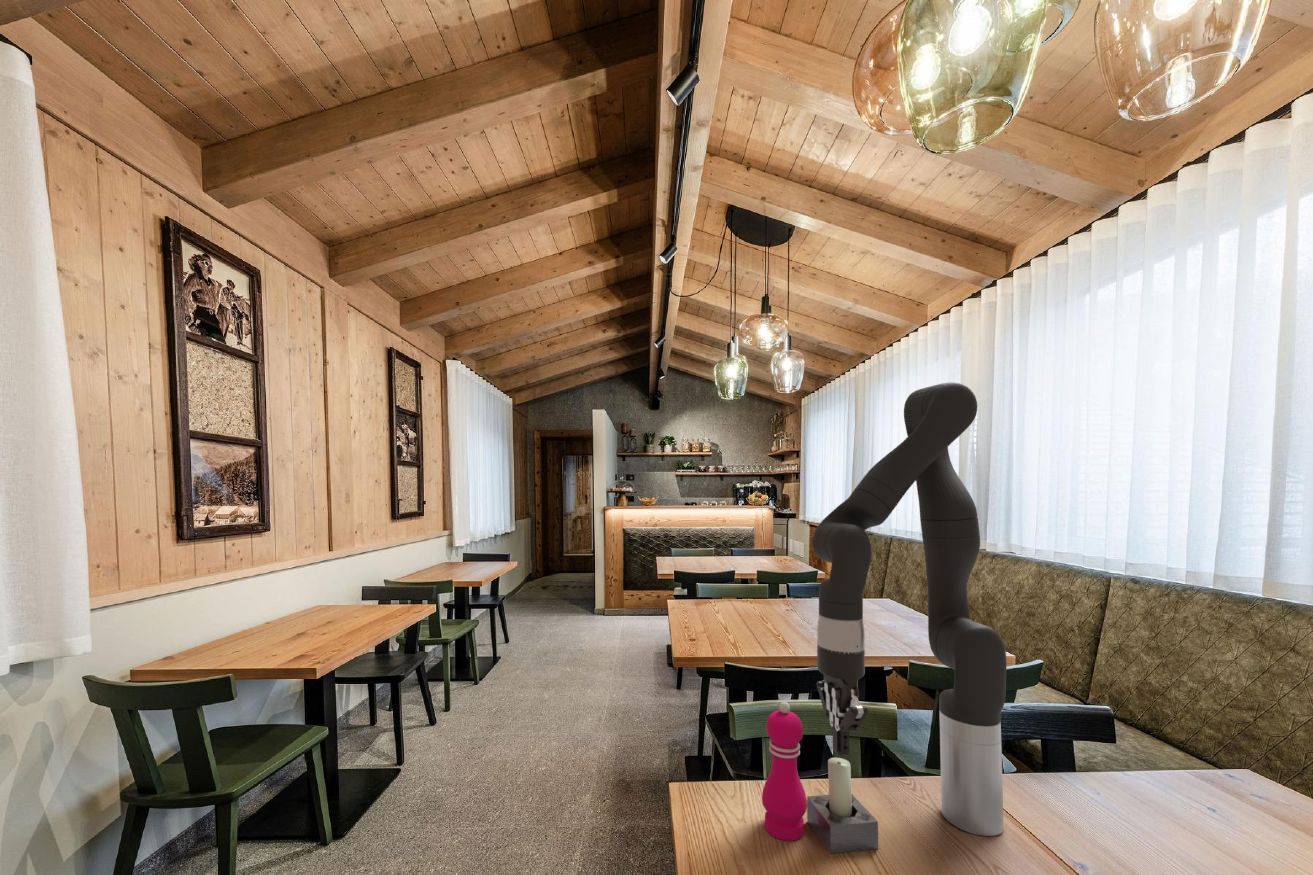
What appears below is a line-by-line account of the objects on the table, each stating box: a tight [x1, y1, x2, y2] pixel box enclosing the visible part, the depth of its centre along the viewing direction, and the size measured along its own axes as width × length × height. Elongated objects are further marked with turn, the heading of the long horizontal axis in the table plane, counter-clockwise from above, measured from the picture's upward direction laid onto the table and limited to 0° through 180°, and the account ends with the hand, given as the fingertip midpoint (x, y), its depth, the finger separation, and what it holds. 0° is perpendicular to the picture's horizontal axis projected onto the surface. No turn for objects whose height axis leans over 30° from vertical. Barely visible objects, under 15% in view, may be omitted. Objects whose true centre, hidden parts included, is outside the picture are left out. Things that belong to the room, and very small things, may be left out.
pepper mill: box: [761, 701, 807, 842], centre depth 90 cm, size 7×7×20 cm
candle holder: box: [806, 792, 879, 854], centre depth 88 cm, size 8×8×4 cm
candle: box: [827, 757, 852, 818], centre depth 88 cm, size 4×4×10 cm
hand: (840, 752), depth 89 cm, fingers closed
